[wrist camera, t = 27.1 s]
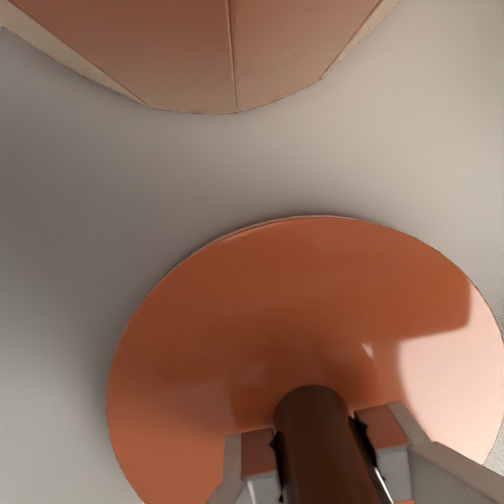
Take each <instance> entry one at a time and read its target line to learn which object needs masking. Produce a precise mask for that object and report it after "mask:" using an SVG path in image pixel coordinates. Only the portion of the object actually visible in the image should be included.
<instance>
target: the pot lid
mask: <svg viewBox="0 0 504 504" xmlns="http://www.w3.org/2000/svg"><path fill="white" fill-rule="evenodd" d="M395 401H402V402H403V403H404V404H405V406H406V407H407V408H408V410H409V411H410V412H411V414H412V415H413V416H414V418H415V419H416V421H417V422H418V423H419V425H420V426H421V427H422V429H423V430H424V431H425V433H426V434H427V435H428V437H429V438H430V440H431V441H432V442H435V441H438V442H440V443H442V444H444V445H445V446H447V447H449V448H451V449H453V450H455V451H457V452H458V453H460V454H462V455H464V456H466V457H468V458H469V459H471V460H473V461H475V462H477V463H479V464H481V465H483V464H484V462H485V461H486V459H487V457H488V455H489V453H490V451H491V449H492V447H493V445H494V443H495V441H496V438H497V436H498V433H499V430H500V427H501V424H502V421H503V417H504V342H503V339H502V335H501V331H500V328H499V326H498V324H497V322H496V319H495V317H494V315H493V313H492V310H491V308H490V307H489V305H488V304H487V302H486V301H485V299H484V297H483V296H482V294H481V293H480V291H479V290H478V288H477V287H476V286H475V285H474V283H473V282H472V281H471V280H470V279H469V278H468V277H467V276H466V275H465V274H464V272H463V271H462V270H461V269H460V268H459V267H458V266H456V265H455V264H454V263H453V262H451V261H450V260H449V259H448V258H446V257H445V256H444V255H443V254H442V253H440V252H439V251H437V250H436V249H434V248H432V247H430V246H429V245H427V244H425V243H424V242H422V241H420V240H419V239H417V238H415V237H412V236H410V235H407V234H405V233H403V232H400V231H398V230H395V229H393V228H390V227H387V226H384V225H381V224H377V223H373V222H369V221H365V220H361V219H357V218H350V217H341V216H332V215H303V216H292V217H286V218H279V219H273V220H268V221H264V222H261V223H257V224H254V225H250V226H247V227H244V228H240V229H238V230H236V231H234V232H231V233H229V234H227V235H224V236H222V237H220V238H218V239H215V240H213V241H212V242H210V243H208V244H207V245H205V246H204V247H202V248H200V249H199V250H197V251H195V252H194V253H192V254H190V255H189V256H188V257H187V258H185V259H184V260H183V261H182V262H180V263H179V264H178V265H177V266H175V267H174V268H173V269H172V270H170V271H169V272H168V273H167V274H166V275H165V276H164V277H163V278H162V280H161V281H160V282H159V283H158V284H157V285H156V286H155V287H154V288H153V289H152V290H151V291H150V292H149V294H148V295H147V296H146V298H145V299H144V300H143V302H142V303H141V305H140V306H139V307H138V309H137V310H136V312H135V313H134V315H133V316H132V317H131V319H130V321H129V323H128V325H127V327H126V329H125V331H124V333H123V334H122V336H121V338H120V340H119V342H118V345H117V348H116V351H115V354H114V358H113V361H112V364H111V367H110V373H109V379H108V385H107V413H106V415H107V421H108V428H109V435H110V439H111V442H112V446H113V449H114V452H115V455H116V458H117V461H118V463H119V465H120V467H121V469H122V471H123V473H124V475H125V477H126V479H127V480H128V482H129V483H130V485H131V486H132V488H133V489H134V491H135V492H136V494H137V495H138V496H139V498H140V499H141V500H142V501H143V502H144V503H145V504H206V503H207V501H208V500H209V498H210V496H211V495H212V493H213V492H214V490H215V489H216V487H217V486H219V485H222V481H223V465H224V448H225V439H226V436H229V435H235V434H241V433H244V432H250V431H255V430H261V429H267V428H273V431H274V435H275V441H276V448H277V460H278V465H279V471H280V478H281V486H282V498H283V504H416V503H415V502H414V500H411V501H405V502H399V503H393V501H392V499H391V497H390V495H389V493H388V490H387V488H386V486H385V484H384V482H383V480H382V478H381V476H380V473H379V471H378V469H377V467H376V465H375V463H374V461H373V459H372V456H371V454H370V452H369V450H368V448H367V446H366V444H365V442H364V439H363V437H362V435H361V433H360V431H359V429H358V427H357V425H356V422H355V420H354V416H353V411H355V410H359V409H364V408H369V407H373V406H378V405H382V404H386V403H391V402H395Z"/></svg>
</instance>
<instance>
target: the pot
mask: <svg viewBox="0 0 504 504" xmlns="http://www.w3.org/2000/svg"><path fill="white" fill-rule="evenodd" d="M400 1H401V0H0V25H1V26H3V27H5V28H6V29H8V30H9V31H11V32H12V33H14V34H16V35H17V36H19V37H20V38H22V39H24V40H25V41H27V42H28V43H30V44H31V45H33V46H35V47H36V48H38V49H39V50H41V51H43V52H44V53H46V54H47V55H49V56H50V57H52V58H54V59H55V60H57V61H58V62H60V63H62V64H63V65H65V66H66V67H68V68H70V69H72V70H74V71H76V72H78V73H80V74H82V75H84V76H86V77H88V78H90V79H92V80H94V81H96V82H98V83H100V84H102V85H104V86H106V87H108V88H109V89H111V90H113V91H115V92H117V93H119V94H121V95H124V96H126V97H129V98H131V99H133V100H135V101H137V102H139V103H141V104H143V105H145V106H147V107H149V108H153V109H166V110H170V111H178V112H186V113H194V114H215V113H237V111H238V112H241V111H244V110H248V109H252V108H256V107H259V106H262V105H265V104H269V103H272V102H275V101H278V100H280V99H282V98H284V97H286V96H288V95H290V94H293V93H295V92H297V91H299V90H301V89H303V88H304V87H306V86H309V85H312V84H314V83H316V82H317V81H319V80H321V79H322V78H323V77H324V76H325V75H326V74H327V73H328V72H329V71H330V70H331V69H332V68H333V67H334V66H336V65H337V64H338V63H339V62H340V61H341V60H342V59H344V58H345V57H346V56H347V55H348V54H349V53H350V52H351V51H352V50H353V49H354V47H355V46H356V45H357V44H359V43H360V42H361V41H362V40H363V39H364V38H365V37H366V36H367V35H368V34H369V33H370V32H371V31H372V30H373V29H374V28H375V27H376V26H377V25H378V24H379V23H380V22H382V21H383V20H384V19H385V18H386V16H387V15H388V14H389V13H390V12H391V11H392V10H393V9H394V7H395V6H396V5H397V4H398V3H399V2H400Z"/></svg>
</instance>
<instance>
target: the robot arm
mask: <svg viewBox="0 0 504 504" xmlns="http://www.w3.org/2000/svg"><path fill="white" fill-rule="evenodd" d="M353 416H354V420H355V422H356V425H357V427H358V429H359V431H360V433H361V435H362V437H363V439H364V442H365V444H366V446H367V448H368V450H369V452H370V454H371V456H372V459H373V461H374V463H375V465H376V467H377V469H378V471H379V473H380V476H381V478H382V480H383V482H384V484H385V486H386V488H387V490H388V493H389V495H390V497H391V499H392V501H393V503H399V502H405V501H411V500H414V502H415V503H416V504H504V477H503V476H501V475H499V474H497V473H495V472H494V471H492V470H490V469H488V468H486V467H484V466H482V465H481V464H479V463H477V462H475V461H473V460H471V459H469V458H468V457H466V456H464V455H462V454H460V453H458V452H457V451H455V450H453V449H451V448H449V447H447V446H445V445H444V444H442V443H440V442H438V441H435V442H432V441H431V440H430V438H429V437H428V435H427V434H426V433H425V431H424V430H423V429H422V427H421V426H420V425H419V423H418V422H417V421H416V419H415V418H414V416H413V415H412V414H411V412H410V411H409V410H408V408H407V407H406V406H405V404H404V403H403V402H402V401H395V402H391V403H386V404H382V405H378V406H373V407H369V408H364V409H359V410H355V411H353ZM206 504H283V498H282V486H281V478H280V471H279V465H278V460H277V448H276V441H275V435H274V431H273V428H267V429H261V430H255V431H250V432H244V433H241V434H235V435H229V436H226V439H225V448H224V465H223V481H222V485H219V486H217V487H216V489H215V490H214V492H213V493H212V495H211V496H210V498H209V500H208V501H207V503H206Z"/></svg>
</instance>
